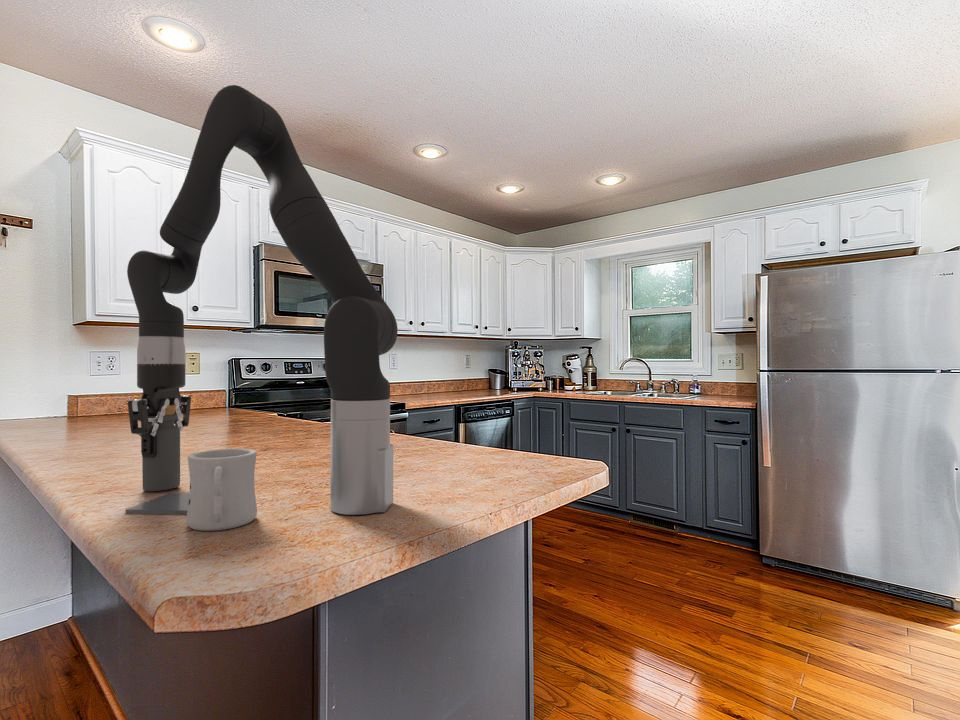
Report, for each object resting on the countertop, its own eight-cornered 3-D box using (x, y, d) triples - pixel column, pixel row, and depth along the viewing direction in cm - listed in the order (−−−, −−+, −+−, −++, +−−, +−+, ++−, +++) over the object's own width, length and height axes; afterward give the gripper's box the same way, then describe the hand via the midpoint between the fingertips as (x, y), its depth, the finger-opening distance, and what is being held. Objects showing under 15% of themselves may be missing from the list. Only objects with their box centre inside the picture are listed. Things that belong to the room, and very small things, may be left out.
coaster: (225, 497, 87) (225, 493, 87) (188, 514, 77) (188, 510, 77) (168, 496, 88) (168, 493, 88) (125, 513, 78) (125, 509, 78)
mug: (191, 517, 76) (191, 450, 76) (258, 510, 79) (258, 446, 79) (176, 544, 64) (176, 465, 64) (255, 535, 68) (255, 460, 68)
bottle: (162, 491, 89) (162, 406, 90) (134, 490, 91) (134, 406, 91) (187, 484, 95) (187, 404, 95) (161, 483, 96) (160, 403, 96)
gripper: (154, 361, 86) (154, 461, 86) (204, 362, 100) (204, 448, 100) (111, 362, 86) (111, 461, 86) (168, 362, 101) (168, 448, 100)
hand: (161, 453), depth 93 cm, fingers closed on bottle, 5 cm apart
